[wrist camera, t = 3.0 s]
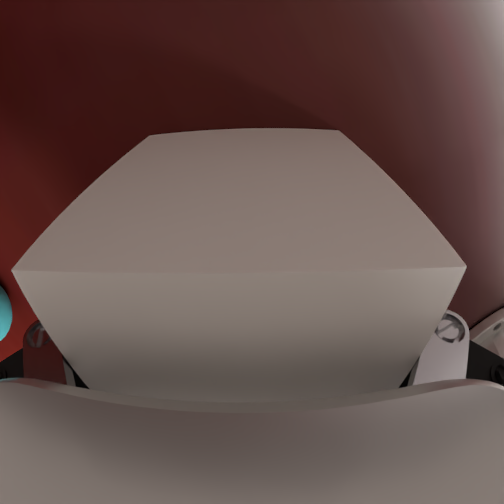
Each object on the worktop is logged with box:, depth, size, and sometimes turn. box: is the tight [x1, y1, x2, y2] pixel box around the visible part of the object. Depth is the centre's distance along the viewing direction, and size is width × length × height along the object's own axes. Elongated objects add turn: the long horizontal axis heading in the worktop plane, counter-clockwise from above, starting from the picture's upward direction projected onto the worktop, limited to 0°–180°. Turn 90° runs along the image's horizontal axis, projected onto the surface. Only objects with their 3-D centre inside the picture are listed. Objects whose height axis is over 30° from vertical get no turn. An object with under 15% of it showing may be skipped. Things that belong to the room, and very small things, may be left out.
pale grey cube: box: [11, 128, 467, 402], centre depth 10 cm, size 8×8×9 cm
